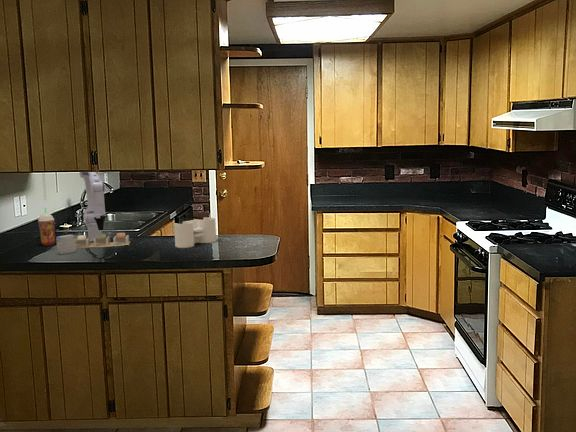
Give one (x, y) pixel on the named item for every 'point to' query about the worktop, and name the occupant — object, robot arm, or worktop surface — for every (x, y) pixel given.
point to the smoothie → (47, 228)
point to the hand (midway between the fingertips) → (100, 230)
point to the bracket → (195, 232)
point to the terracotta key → (120, 235)
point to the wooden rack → (102, 242)
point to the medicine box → (66, 244)
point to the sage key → (101, 236)
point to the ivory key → (81, 237)
